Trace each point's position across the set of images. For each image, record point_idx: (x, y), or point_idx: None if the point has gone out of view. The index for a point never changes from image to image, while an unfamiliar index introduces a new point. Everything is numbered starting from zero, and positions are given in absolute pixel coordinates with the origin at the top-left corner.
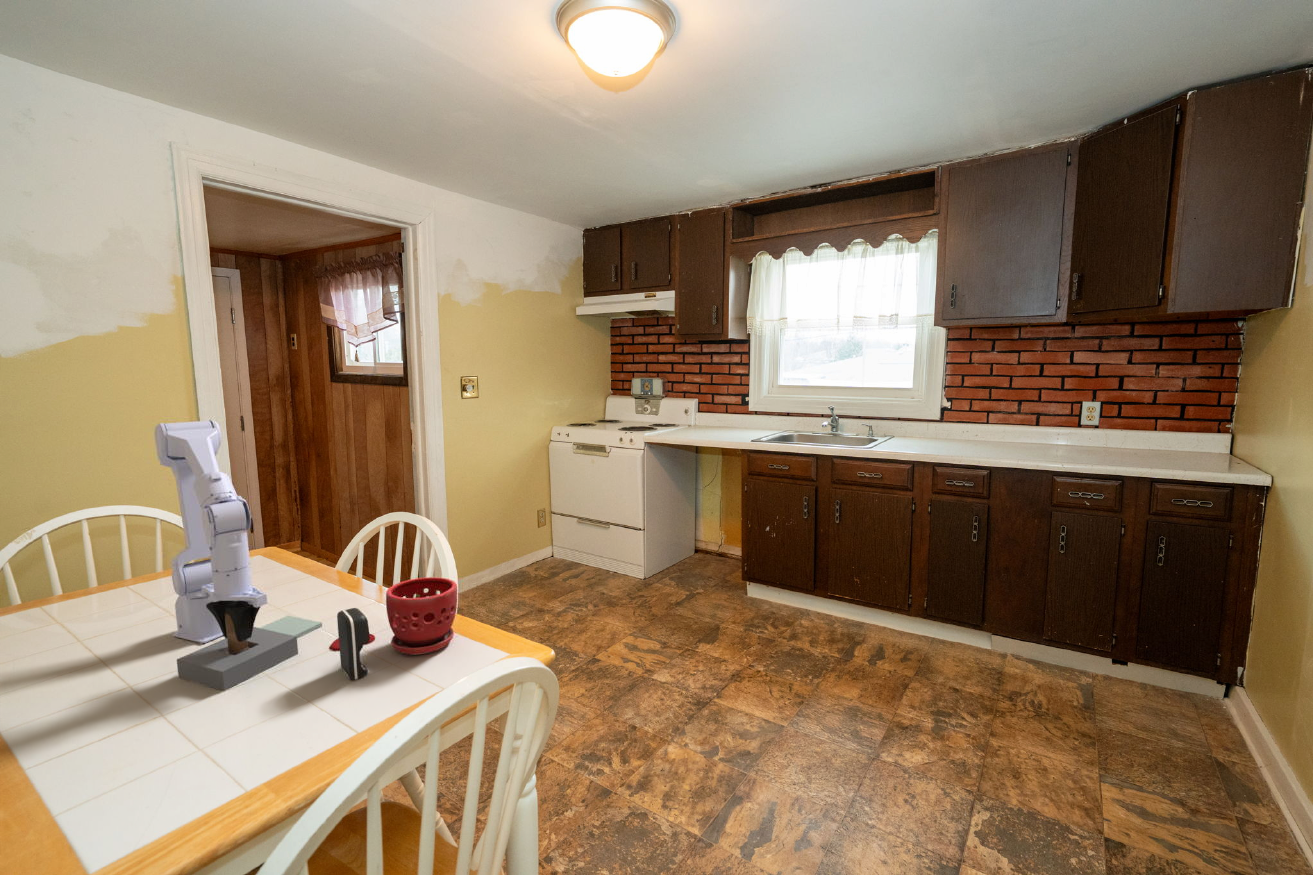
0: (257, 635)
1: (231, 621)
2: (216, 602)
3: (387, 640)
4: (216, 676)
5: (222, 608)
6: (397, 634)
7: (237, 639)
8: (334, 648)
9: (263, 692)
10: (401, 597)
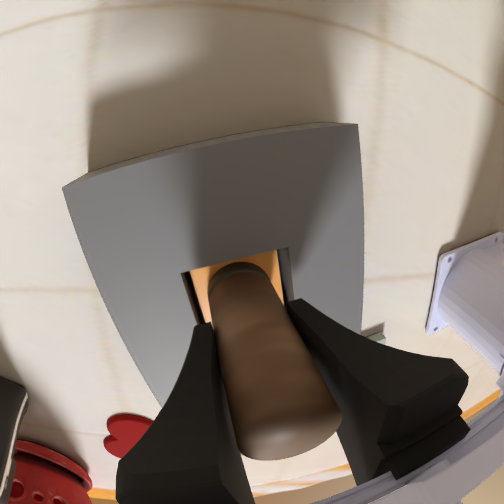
0: None
1: (245, 387)
2: (427, 421)
3: (96, 457)
4: (108, 169)
5: (364, 418)
6: (17, 467)
7: (209, 325)
8: (120, 419)
9: (5, 243)
10: None
